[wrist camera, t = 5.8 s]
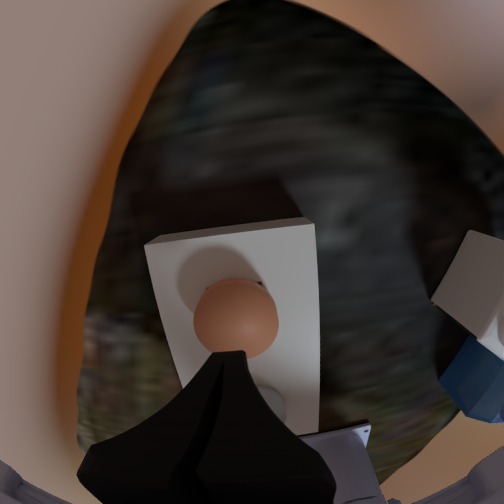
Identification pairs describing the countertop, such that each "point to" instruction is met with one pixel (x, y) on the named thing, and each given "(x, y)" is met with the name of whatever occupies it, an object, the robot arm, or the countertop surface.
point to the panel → (265, 274)
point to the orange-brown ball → (236, 317)
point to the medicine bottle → (476, 290)
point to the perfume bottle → (476, 382)
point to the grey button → (274, 401)
